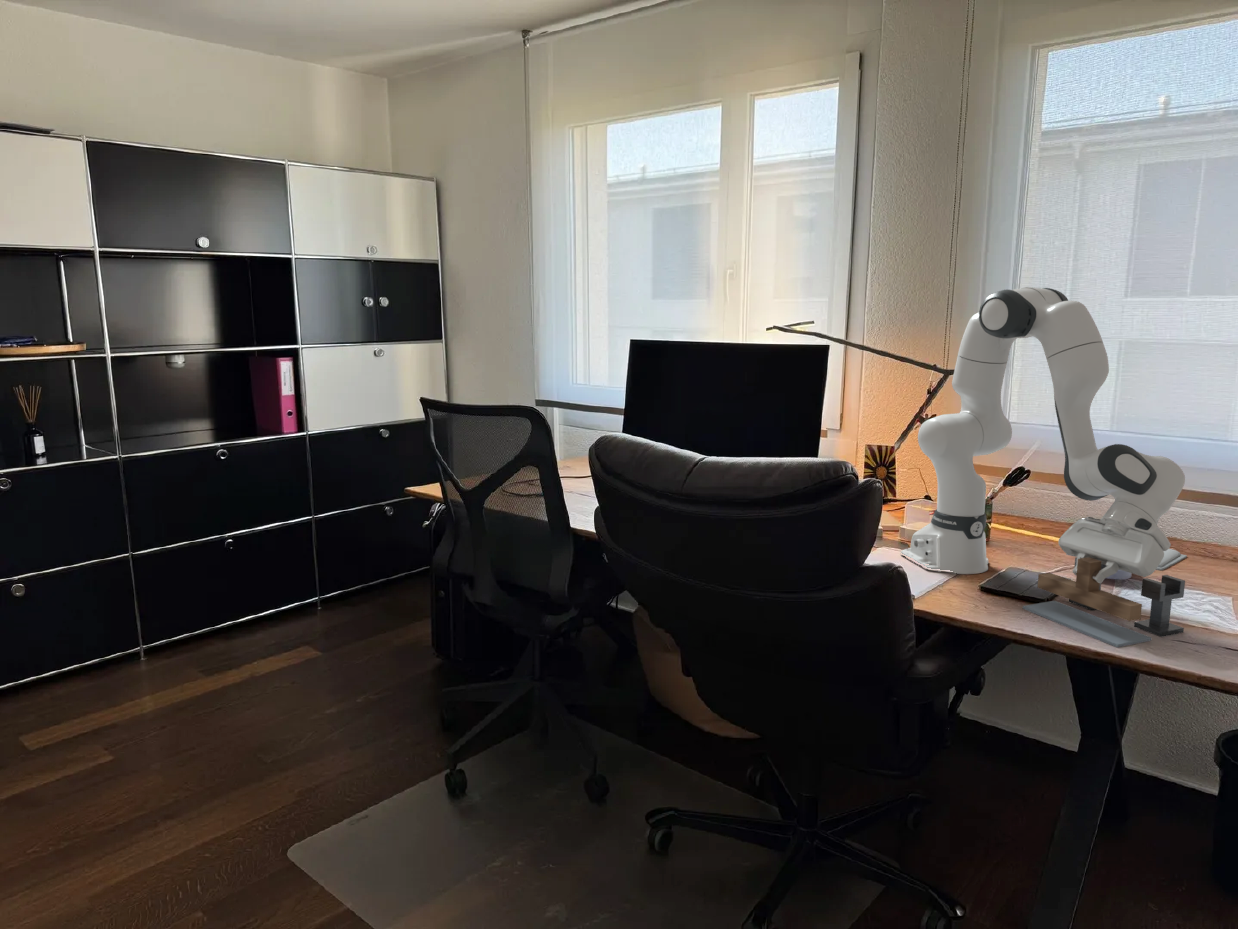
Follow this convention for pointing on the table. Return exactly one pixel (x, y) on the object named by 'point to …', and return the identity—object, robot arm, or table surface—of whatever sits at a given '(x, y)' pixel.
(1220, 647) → the table surface
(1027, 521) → the table surface
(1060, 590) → the walnut rail
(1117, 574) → the white wedge
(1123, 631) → the slate mat
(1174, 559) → the office telephone
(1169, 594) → the hook posts
